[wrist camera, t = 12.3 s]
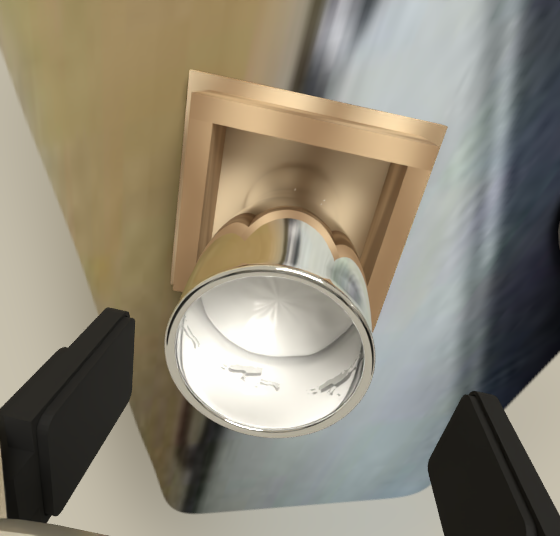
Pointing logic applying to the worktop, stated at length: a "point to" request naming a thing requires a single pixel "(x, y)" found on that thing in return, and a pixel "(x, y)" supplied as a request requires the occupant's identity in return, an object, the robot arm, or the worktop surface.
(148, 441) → the worktop surface
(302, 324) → the beer glass
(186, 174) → the glass rest
